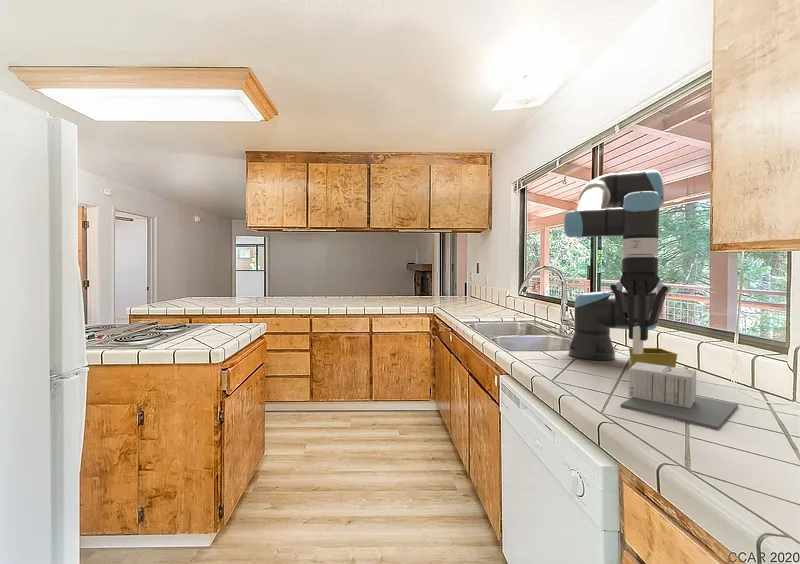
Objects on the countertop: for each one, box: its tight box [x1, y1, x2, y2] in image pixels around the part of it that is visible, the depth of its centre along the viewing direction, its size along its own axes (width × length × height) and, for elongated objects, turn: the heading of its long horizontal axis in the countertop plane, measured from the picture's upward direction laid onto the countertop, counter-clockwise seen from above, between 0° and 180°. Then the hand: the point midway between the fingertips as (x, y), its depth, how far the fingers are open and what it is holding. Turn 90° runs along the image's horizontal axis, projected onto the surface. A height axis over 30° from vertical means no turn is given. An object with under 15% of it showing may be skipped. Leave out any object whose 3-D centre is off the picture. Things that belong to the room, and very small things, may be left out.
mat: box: [620, 395, 739, 430], centre depth 94 cm, size 20×18×1 cm
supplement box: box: [628, 362, 697, 408], centre depth 97 cm, size 7×7×13 cm
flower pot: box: [628, 347, 678, 367], centre depth 114 cm, size 9×9×9 cm
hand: (637, 353), depth 100 cm, fingers closed
